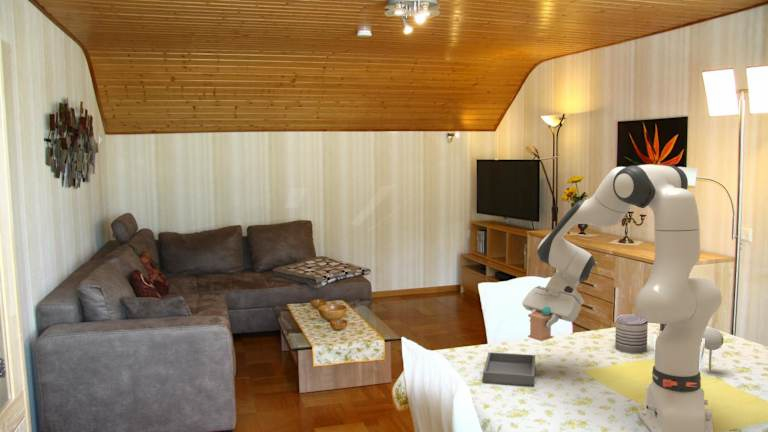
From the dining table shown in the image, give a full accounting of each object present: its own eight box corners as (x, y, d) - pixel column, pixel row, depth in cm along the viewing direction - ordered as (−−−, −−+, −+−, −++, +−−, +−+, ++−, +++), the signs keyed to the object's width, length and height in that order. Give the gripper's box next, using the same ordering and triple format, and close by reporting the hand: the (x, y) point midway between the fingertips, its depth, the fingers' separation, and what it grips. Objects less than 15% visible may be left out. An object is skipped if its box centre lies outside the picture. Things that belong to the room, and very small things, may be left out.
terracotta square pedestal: (539, 333, 212) (539, 311, 211) (552, 337, 207) (553, 314, 206) (528, 337, 209) (528, 314, 208) (541, 341, 204) (541, 318, 203)
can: (652, 354, 228) (653, 321, 227) (620, 354, 228) (621, 322, 227) (640, 344, 240) (641, 313, 238) (610, 344, 240) (610, 313, 238)
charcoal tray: (534, 386, 200) (534, 376, 200) (483, 382, 204) (483, 372, 203) (535, 365, 219) (535, 355, 219) (488, 361, 223) (488, 352, 223)
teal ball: (545, 318, 206) (553, 315, 206) (542, 311, 205) (551, 307, 205) (542, 314, 209) (550, 310, 209) (539, 306, 208) (548, 303, 208)
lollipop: (720, 378, 204) (722, 332, 203) (696, 374, 208) (698, 329, 206) (722, 371, 210) (724, 327, 209) (698, 367, 214) (700, 324, 212)
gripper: (530, 280, 218) (510, 312, 214) (580, 291, 202) (559, 326, 197) (539, 290, 221) (519, 322, 217) (588, 302, 205) (568, 337, 201)
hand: (539, 324), depth 207 cm, fingers closed on terracotta square pedestal, 5 cm apart
